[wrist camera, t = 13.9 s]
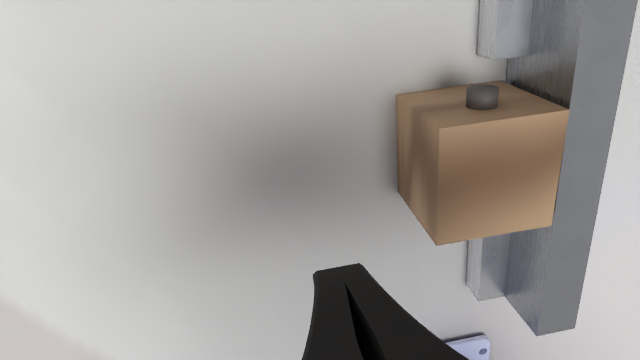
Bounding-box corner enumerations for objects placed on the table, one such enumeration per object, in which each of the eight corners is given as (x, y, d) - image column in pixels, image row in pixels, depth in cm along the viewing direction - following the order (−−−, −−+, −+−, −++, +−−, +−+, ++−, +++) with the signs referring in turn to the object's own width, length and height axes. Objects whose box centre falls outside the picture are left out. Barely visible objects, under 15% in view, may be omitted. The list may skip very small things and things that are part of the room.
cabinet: (491, 176, 23) (551, 225, 19) (397, 191, 23) (436, 245, 18) (500, 65, 21) (572, 90, 16) (395, 78, 20) (439, 109, 16)
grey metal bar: (523, 272, 26) (574, 328, 22) (466, 284, 26) (507, 341, 22) (558, -29, 19) (642, -28, 15) (480, -19, 19) (546, -16, 15)
